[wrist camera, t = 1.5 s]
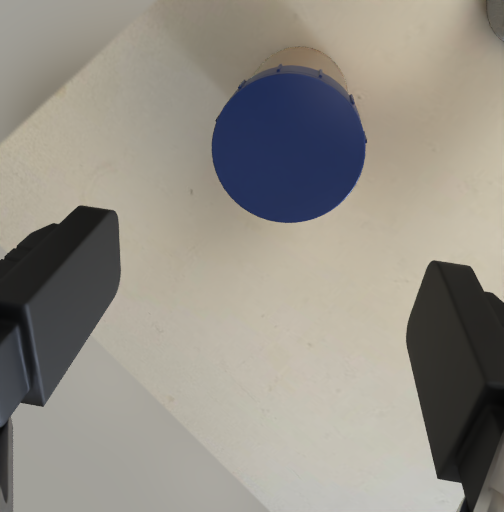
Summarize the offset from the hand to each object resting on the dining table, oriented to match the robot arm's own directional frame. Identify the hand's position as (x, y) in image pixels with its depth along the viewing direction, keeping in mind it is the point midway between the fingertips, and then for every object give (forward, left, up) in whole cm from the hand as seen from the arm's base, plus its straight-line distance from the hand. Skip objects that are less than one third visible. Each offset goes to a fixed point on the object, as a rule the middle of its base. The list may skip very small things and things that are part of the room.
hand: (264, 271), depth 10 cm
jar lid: (0, 0, -8) cm, 8 cm away
